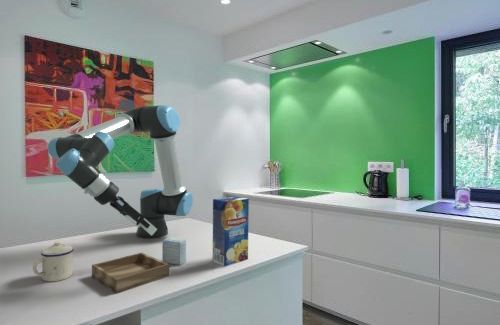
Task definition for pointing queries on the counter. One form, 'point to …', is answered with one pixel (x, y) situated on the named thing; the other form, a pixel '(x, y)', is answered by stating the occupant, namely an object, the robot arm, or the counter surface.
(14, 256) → the counter surface
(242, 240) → the juice carton
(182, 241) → the medicine box
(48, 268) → the teacup with lid
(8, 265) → the counter surface
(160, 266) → the tray
